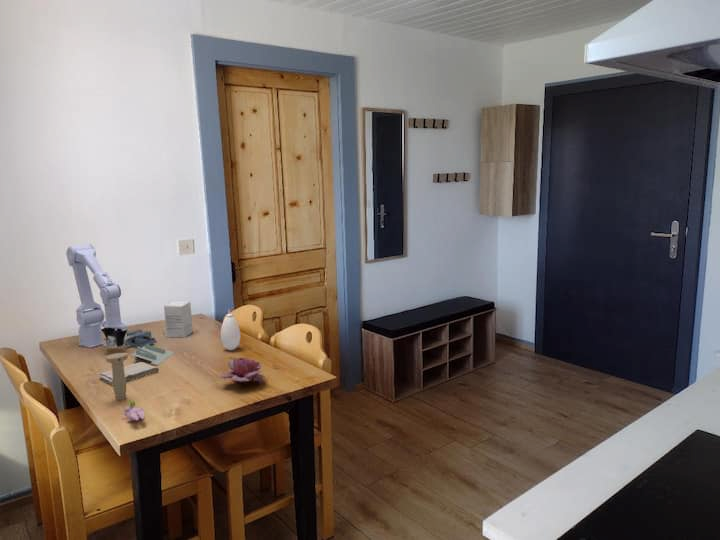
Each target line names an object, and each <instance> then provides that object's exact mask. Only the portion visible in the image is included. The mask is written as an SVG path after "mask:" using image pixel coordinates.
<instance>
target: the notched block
mask: <svg viewBox="0 0 720 540" xmlns="http://www.w3.org/2000/svg"><path fill="white" fill-rule="evenodd" d="M108 339H110V342H111V341H114V344H115V345H114V348H116V349H117V348H121V347H122V346H120V347H118V346H117V342H116V338H115V335H114V334H112V335H108Z"/></svg>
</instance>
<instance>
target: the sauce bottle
mask: <svg viewBox="0 0 720 540" xmlns="http://www.w3.org/2000/svg"><path fill="white" fill-rule="evenodd" d="M220 339H221V343H222V345H223V347H224V348H225V349H227V350H229V351H234V350H236V348H237V347H238V346H239V344H240V342H241V330H240V326H239V324H238V321H237V320H236V318H235V317H234V316H233V314H232V313H231V312H230V310H228V313H227V314H226V315H225V318H224V319H223V321H222V325H221V328H220Z"/></svg>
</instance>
